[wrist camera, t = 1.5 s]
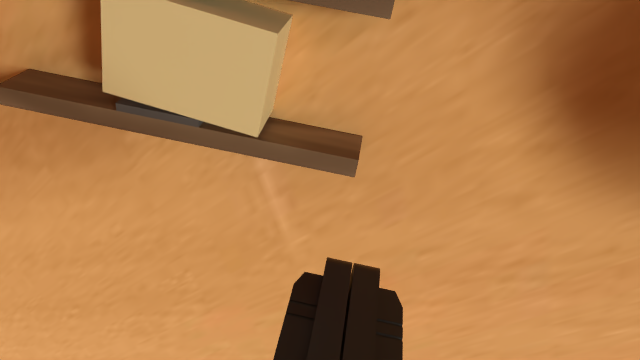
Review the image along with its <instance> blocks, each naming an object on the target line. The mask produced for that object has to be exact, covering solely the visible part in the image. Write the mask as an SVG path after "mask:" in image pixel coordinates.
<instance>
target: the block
mask: <svg viewBox="0 0 640 360" xmlns="http://www.w3.org/2000/svg"><path fill="white" fill-rule="evenodd" d="M292 17H293V15H291V14H288V13H285V12H281V11H278V10H275V9H271V8H268V7H265V6H261V5H258V4H255V3H251V2H248V1H245V0H101V42H102V89H103V92H106V93H109V94H112V95H116V96H119V97H123V98H126V99H129V100H133V101H136V102H139V103H143V104H146V105H150V106H153V107H156V108H160V109H163V110H166V111H170V112H173V113H177V114H180V115H183V116H187V117H190V118H194V119H197V120H200V121H204V122H207V123H210V124H214V125H217V126H221V127H224V128H227V129H231V130H234V131H237V132H241V133H244V134H248V135H251V136H254V137H258V136H259V134H260V132H261V130H262V128H263V127H264V125H265V123H266V121H267V119H268V118H269V116H270V114H271V112H272V110H273V107H274V102H275V97H276V93H277V88H278V83H279V78H280V74H281V69H282V64H283V60H284V55H285V50H286V45H287V41H288V36H289V31H290V26H291V22H292Z"/></svg>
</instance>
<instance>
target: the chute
mask: <svg viewBox="0 0 640 360" xmlns="http://www.w3.org/2000/svg"><path fill="white" fill-rule="evenodd" d="M291 1H296V2H301V3H307V4H312V5H317V6H322V7H328V8H333V9H338V10H343V11H349V12H354V13H359V14H365V15H370V16H375V17H380V18H386V19H390V18H391V14H392V9H393V5H394V1H395V0H291ZM0 104H1V105H6V106H10V107H15V108H20V109H25V110H30V111H35V112H40V113H44V114H49V115H54V116H59V117H64V118H69V119H74V120H78V121H83V122H88V123H93V124H98V125H103V126H108V127H112V128H117V129H122V130H127V131H132V132H137V133H142V134H146V135H151V136H156V137H161V138H166V139H171V140H176V141H180V142H185V143H190V144H195V145H200V146H205V147H210V148H214V149H219V150H224V151H229V152H234V153H239V154H244V155H248V156H253V157H258V158H263V159H268V160H273V161H277V162H282V163H287V164H292V165H297V166H302V167H307V168H311V169H316V170H321V171H326V172H331V173H336V174H341V175H345V176H350V177H355V174H356V169H357V165H358V160H359V154H360V148H361V142H362V136H359V135H354V134H349V133H344V132H339V131H334V130H329V129H324V128H319V127H314V126H310V125H305V124H300V123H295V122H290V121H285V120H280V119H275V118H270V117H269V118H268V119H267V121H266V123H265V125H264V127H263V128H262V130H261V132H260V134H259V136H258V137H254V136H251V135H248V134H244V133H241V132H237V131H234V130H231V129H227V128H224V127H221V126H217V125H214V124H210V123H207V122H204V121H200V120H197V119H194V118H190V117H187V116H183V115H180V114H177V113H173V112H170V111H166V110H163V109H160V108H156V107H153V106H150V105H146V104H143V103H139V102H136V101H133V100H129V99H126V98H123V97H119V96H116V95H112V94H109V93H106V92H103V89H102V84H101V83H96V82H91V81H86V80H82V79H77V78H72V77H67V76H62V75H57V74H52V73H47V72H42V71H37V70H32V69H28V70H26V71H24V72H22V73H20V74H18V75H16V76H14V77H12V78H10V79H9V80H7V81H5V82H3V83H1V84H0Z"/></svg>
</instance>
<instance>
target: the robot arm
mask: <svg viewBox="0 0 640 360" xmlns="http://www.w3.org/2000/svg"><path fill="white" fill-rule="evenodd" d="M351 269H352V263H351V262H346V261H342V260H337V259H332V258H328V257H327V261H326V265H325V270H324V275H323V276H321V275H317V274H312V273H308V272H304V274H303V275H302V276H301V277H300V278H299V279H298V280H297V281H296V282H295V283H294V285H293V289H292V293H291V296H290V300H289V304H288V307H287V311H286V315H285V319H284V322H283V326H282V330H281V333H280V337H279V341H278V344H277V348H276V352H275V355H274V359H273V360H402V349H403V341H402V338H403V327H402V324H403V307H402V305H401V303H400V301H399V299H398V296H397V294H396V292H395V291H391V290H387V289H382V288H379V280H380V269H379V268H375V267H370V266H365V265H361V264H356V263H354V265H353V269H352V273H351Z"/></svg>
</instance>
